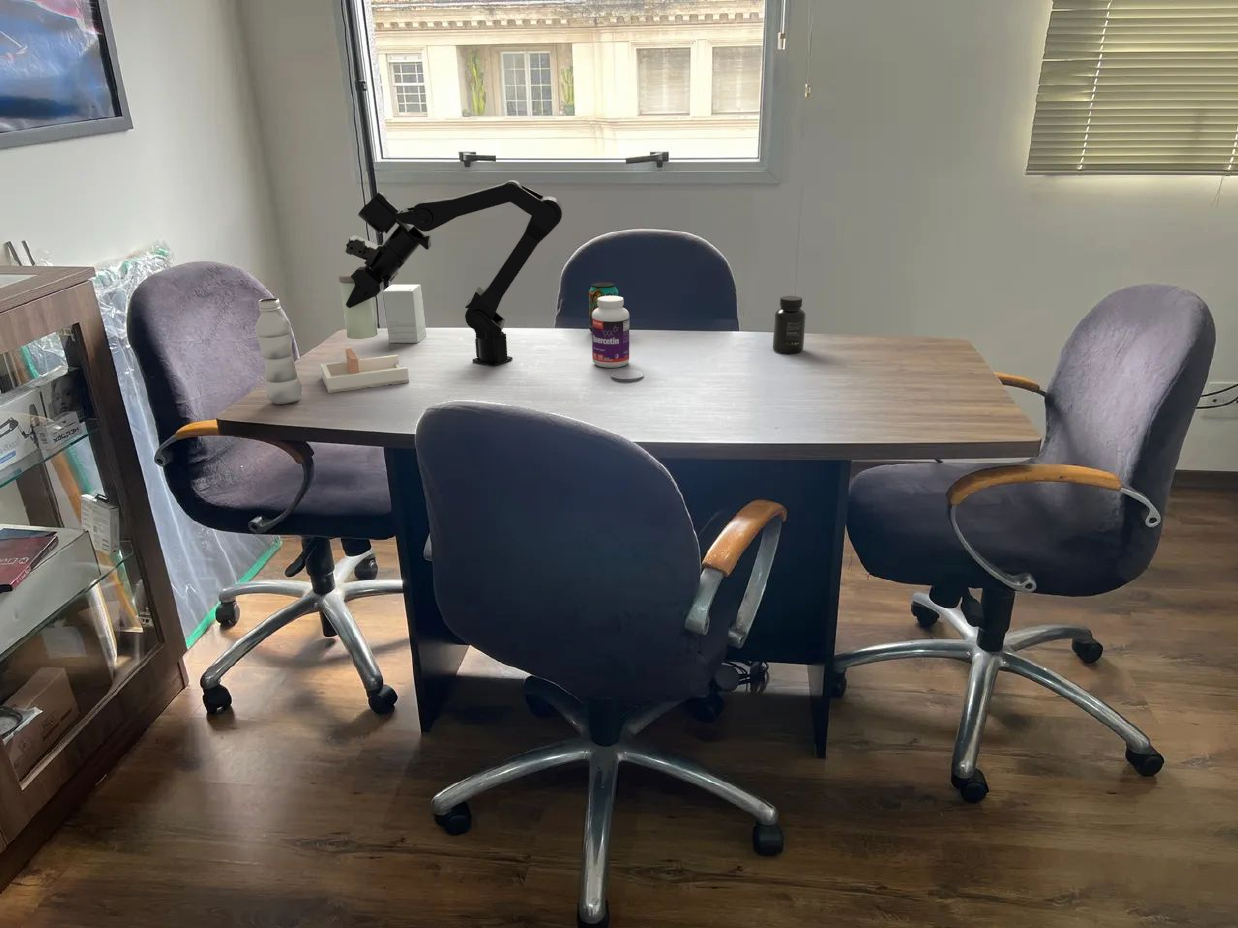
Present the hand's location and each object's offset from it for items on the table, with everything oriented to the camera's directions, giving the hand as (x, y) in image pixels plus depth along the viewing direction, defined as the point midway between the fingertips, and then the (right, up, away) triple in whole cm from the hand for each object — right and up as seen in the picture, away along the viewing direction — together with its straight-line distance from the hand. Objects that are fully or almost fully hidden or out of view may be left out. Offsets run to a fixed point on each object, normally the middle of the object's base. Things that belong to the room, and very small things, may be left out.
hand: (351, 303), depth 191 cm
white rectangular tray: (+5, -17, -6) cm, 19 cm away
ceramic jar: (+1, -6, +3) cm, 7 cm away
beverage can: (+54, -3, +27) cm, 60 cm away
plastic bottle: (-7, -23, -18) cm, 30 cm away
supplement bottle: (+96, -9, +11) cm, 97 cm away
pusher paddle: (+3, -17, -7) cm, 18 cm away
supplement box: (+6, -5, +24) cm, 25 cm away
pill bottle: (+56, -13, +3) cm, 57 cm away
